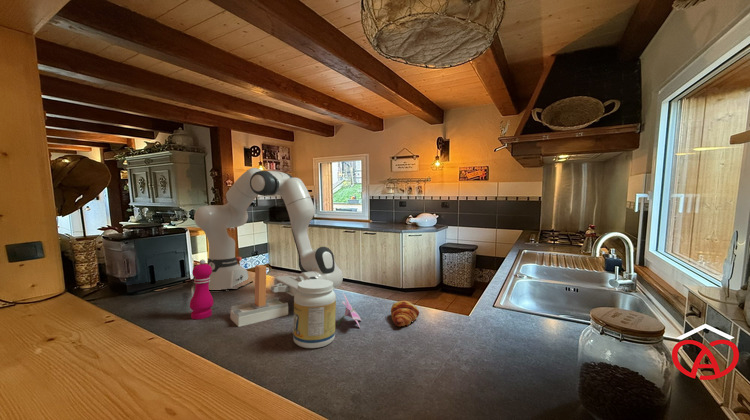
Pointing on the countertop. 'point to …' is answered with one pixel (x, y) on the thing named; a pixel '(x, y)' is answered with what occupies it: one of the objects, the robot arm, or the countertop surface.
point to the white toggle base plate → (258, 312)
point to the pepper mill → (201, 292)
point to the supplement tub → (314, 313)
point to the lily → (350, 311)
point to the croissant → (404, 313)
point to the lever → (260, 287)
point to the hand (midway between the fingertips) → (272, 289)
